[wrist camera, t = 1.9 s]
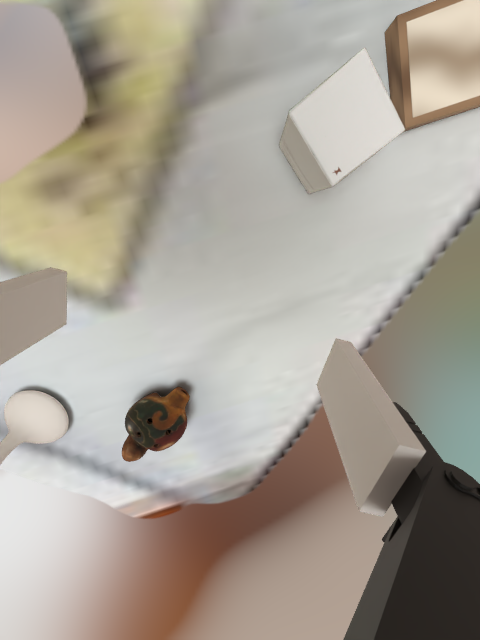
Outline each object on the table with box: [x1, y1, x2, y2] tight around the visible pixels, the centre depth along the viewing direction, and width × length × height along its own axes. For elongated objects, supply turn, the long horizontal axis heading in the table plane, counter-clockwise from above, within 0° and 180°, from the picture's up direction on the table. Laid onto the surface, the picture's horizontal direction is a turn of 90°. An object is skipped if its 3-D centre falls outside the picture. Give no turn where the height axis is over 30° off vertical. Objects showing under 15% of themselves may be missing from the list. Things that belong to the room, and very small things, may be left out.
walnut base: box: [385, 0, 480, 132], centre depth 31 cm, size 10×10×3 cm
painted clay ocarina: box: [122, 387, 190, 462], centre depth 48 cm, size 10×15×8 cm, turn 144°
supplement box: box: [279, 48, 405, 194], centre depth 30 cm, size 7×7×13 cm
